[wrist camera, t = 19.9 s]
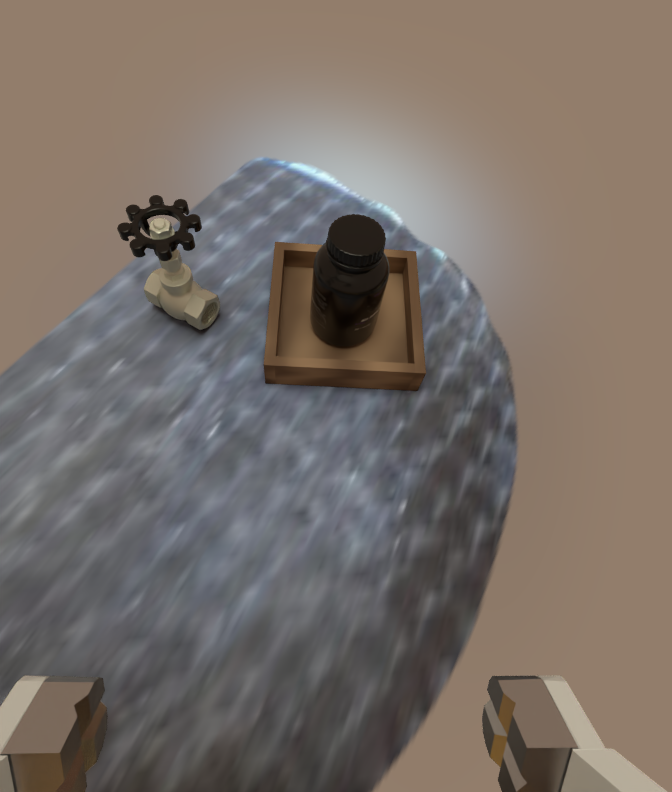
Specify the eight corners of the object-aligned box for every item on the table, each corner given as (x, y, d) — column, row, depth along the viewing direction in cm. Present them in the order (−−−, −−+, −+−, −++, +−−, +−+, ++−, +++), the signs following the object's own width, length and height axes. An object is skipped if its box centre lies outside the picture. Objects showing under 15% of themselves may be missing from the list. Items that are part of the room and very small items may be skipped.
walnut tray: (265, 383, 48) (263, 365, 45) (276, 264, 55) (275, 241, 52) (417, 390, 49) (425, 373, 46) (409, 273, 56) (416, 251, 53)
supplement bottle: (372, 353, 49) (395, 273, 39) (305, 344, 49) (309, 260, 39) (378, 299, 52) (400, 211, 42) (314, 290, 52) (320, 199, 42)
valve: (181, 276, 53) (153, 183, 42) (231, 304, 52) (216, 215, 41) (140, 318, 50) (99, 230, 40) (192, 348, 49) (165, 265, 39)
